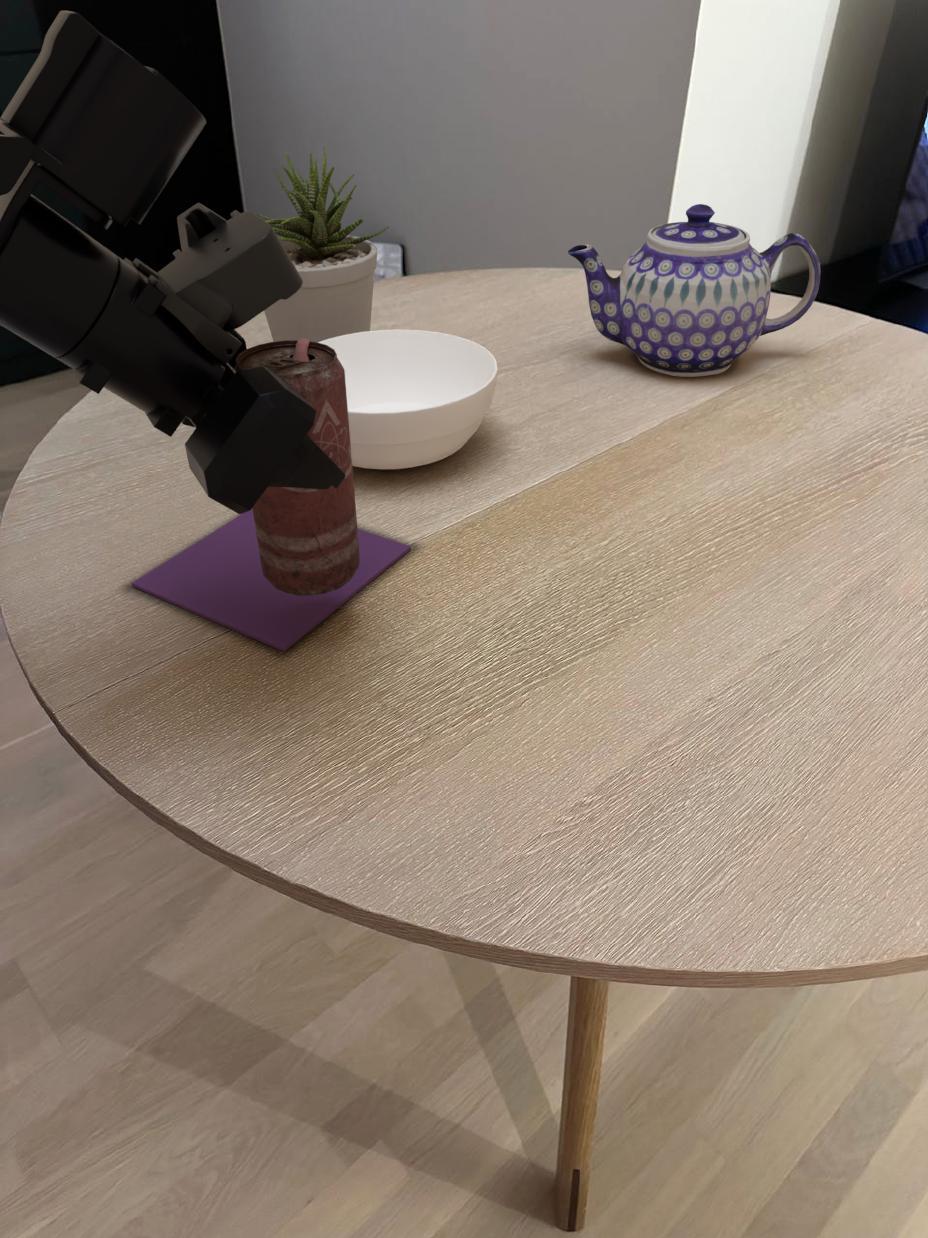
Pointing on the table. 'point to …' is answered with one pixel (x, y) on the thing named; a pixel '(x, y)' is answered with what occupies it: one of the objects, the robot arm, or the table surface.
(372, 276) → the potted plant
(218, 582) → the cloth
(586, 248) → the teapot
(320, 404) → the can
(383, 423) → the bowl
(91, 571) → the table surface
